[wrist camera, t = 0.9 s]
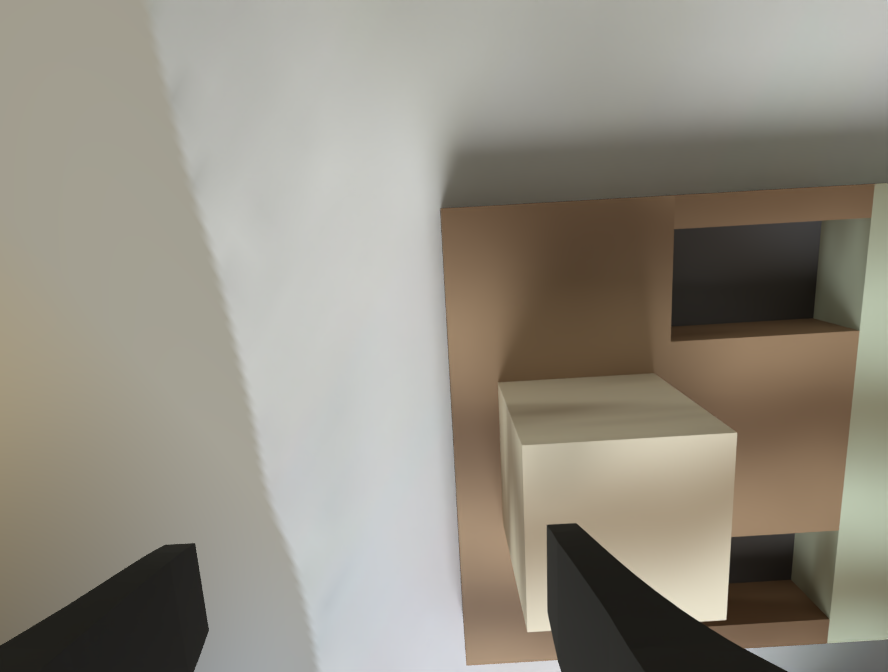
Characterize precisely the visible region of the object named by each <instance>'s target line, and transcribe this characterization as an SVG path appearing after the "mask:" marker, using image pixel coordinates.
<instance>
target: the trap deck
mask: <svg viewBox="0 0 888 672" xmlns="http://www.w3.org/2000/svg"><path fill="white" fill-rule="evenodd" d="M440 214H441V232H442V250H443V268H444V286H445V303H446V321H447V339H448V357H449V375H450V393H451V410H452V428H453V446H454V464H455V482H456V500H457V517H458V535H459V553H460V571H461V589H462V607H463V623H464V637H465V650H466V664H467V665H483V664H499V663H516V662H532V661H548V660H558V659H557V655H556V650H555V646H554V641H553V637H552V632H551V631H539V632H527V628H526V624H525V619H524V615H523V611H522V606H521V602H520V597H519V593H518V588H517V584H516V579H515V575H514V570H513V566H512V561H511V557H510V552H509V548H508V544H507V539H506V535H505V530H504V526H503V506H502V479H501V452H500V425H499V398H498V382H514V381H531V380H548V379H565V378H582V377H599V376H616V375H633V374H650V373H654V374H656V375H657V376H659V377H660V378H661V379H663V380H664V381H666V382H667V383H668V384H670V385H671V386H673V387H674V388H675V389H677V390H678V391H680V392H681V393H682V394H684V395H685V396H687V397H688V398H689V399H691V400H692V401H694V402H695V403H696V404H698V405H699V406H701V407H702V408H703V409H705V410H706V411H708V412H709V413H710V414H712V415H713V416H715V417H716V418H717V419H719V420H720V421H722V422H723V423H724V424H726V425H727V426H729V427H730V428H731V429H733V430H734V431H736V432H737V446H736V464H735V481H734V498H733V515H732V532H731V549H730V566H729V583H728V600H727V617H726V620H719V621H703V622H701V623H702V624H704V625H706V626H707V627H709V628H710V629H712V630H714V631H715V632H717V633H719V634H720V635H722V636H723V637H725V638H727V639H728V640H730V641H732V642H733V643H735V644H737V645H739V646H740V647H742V648H760V647H776V646H792V645H809V644H825V643H841V642H857V641H874V640H888V183H878V184H861V185H843V186H826V187H808V188H791V189H773V190H756V191H738V192H721V193H704V194H686V195H669V196H651V197H634V198H616V199H599V200H581V201H564V202H546V203H529V204H512V205H494V206H477V207H459V208H442V209H440Z"/></svg>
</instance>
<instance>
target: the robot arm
mask: <svg viewBox="0 0 888 672" xmlns="http://www.w3.org/2000/svg"><path fill="white" fill-rule="evenodd" d="M547 613H548V617H549V622H550V627H551V632H552V637H553V641H554V646H555V650H556V655H557V659H558V663H559V666H560V669H561V672H787V671H785V670H784V669H782V668H780V667H778V666H776V665H774V664H772V663H770V662H768V661H766V660H764V659H763V658H761V657H759V656H757V655H755V654H753V653H751V652H749V651H747V650H746V649H744V648H742V647H740V646H739V645H737V644H735V643H733V642H732V641H730V640H728V639H727V638H725V637H723V636H722V635H720V634H719V633H717V632H715V631H714V630H712V629H710V628H709V627H707V626H706V625H704V624H702V623H701V622H699V621H698V620H696V619H695V618H693V617H692V616H690V615H689V614H687V613H686V612H684V611H683V610H681V609H680V608H678V607H677V606H676V605H674V604H673V603H672V602H670V601H669V600H668V599H666V598H665V597H663V596H662V595H661V594H659V593H658V592H657V591H655V590H654V589H653V588H651V587H650V586H649V585H648V584H646V583H645V582H644V581H642V580H641V579H640V578H639V577H637V576H636V575H635V574H634V573H633V572H631V571H630V570H629V569H628V568H627V567H625V566H624V565H623V564H622V563H621V562H620V561H618V560H617V559H616V558H615V557H614V556H613V555H611V554H610V553H609V552H608V551H607V550H606V549H605V548H604V547H602V546H601V545H600V544H599V543H598V542H597V541H596V540H595V539H594V538H592V537H591V536H590V535H589V534H588V533H587V532H586V531H585V530H584V529H582V528H581V527H580V526H579V525H578V524H577V523H568V524H549V525H547ZM208 631H209V628H208V622H207V616H206V609H205V603H204V597H203V591H202V584H201V578H200V572H199V565H198V559H197V553H196V547H195V543H192V544H174V545H164V546H162V547H160V548H158V549H156V550H155V551H153V552H151V553H150V554H148V555H146V556H144V557H143V558H141V559H140V560H138V561H136V562H135V563H133V564H131V565H130V566H128V567H127V568H125V569H124V570H122V571H120V572H119V573H117V574H116V575H114V576H113V577H111V578H110V579H108V580H107V581H105V582H104V583H102V584H100V585H99V586H97V587H96V588H94V589H93V590H91V591H89V592H88V593H86V594H85V595H83V596H81V597H80V598H78V599H77V600H76V601H74V602H72V603H71V604H69V605H68V606H66V607H64V608H62V609H61V610H59V611H58V612H56V613H54V614H52V615H51V616H49V617H48V618H46V619H45V620H42V621H41V622H39V623H38V624H36V625H34V626H33V627H31V628H29V629H28V630H26V631H24V632H23V633H21V634H19V635H18V636H16V637H14V638H13V639H11V640H9V641H8V642H6V643H4V644H2V645H0V672H194V670H195V667H196V664H197V662H198V659H199V657H200V654H201V651H202V648H203V645H204V643H205V639H206V637H207V634H208Z"/></svg>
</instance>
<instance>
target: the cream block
mask: <svg viewBox="0 0 888 672" xmlns="http://www.w3.org/2000/svg"><path fill="white" fill-rule="evenodd" d="M498 398H499V425H500V452H501V479H502V506H503V526H504V530H505V535H506V539H507V544H508V548H509V552H510V557H511V561H512V566H513V570H514V575H515V579H516V584H517V588H518V593H519V597H520V602H521V606H522V611H523V615H524V619H525V624H526V628H527V632H539V631H551V627H550V622H549V617H548V613H547V525H549V524H568V523H577V524H578V525H579V526H580V527H581V528H582V529H584V530H585V531H586V532H587V533H588V534H589V535H590V536H591V537H592V538H594V539H595V540H596V541H597V542H598V543H599V544H600V545H601V546H602V547H604V548H605V549H606V550H607V551H608V552H609V553H610V554H611V555H613V556H614V557H615V558H616V559H617V560H618V561H620V562H621V563H622V564H623V565H624V566H625V567H627V568H628V569H629V570H630V571H631V572H633V573H634V574H635V575H636V576H637V577H639V578H640V579H641V580H642V581H644V582H645V583H646V584H648V585H649V586H650V587H651V588H653V589H654V590H655V591H657V592H658V593H659V594H661V595H662V596H663V597H665V598H666V599H668V600H669V601H670V602H672V603H673V604H674V605H676V606H677V607H678V608H680V609H681V610H683V611H684V612H686V613H687V614H689V615H690V616H692V617H693V618H695V619H696V620H698V621H699V622H703V621H719V620H726V617H727V600H728V583H729V566H730V549H731V532H732V515H733V498H734V481H735V464H736V446H737V432H736V431H734V430H733V429H731V428H730V427H729V426H727V425H726V424H724V423H723V422H722V421H720V420H719V419H717V418H716V417H715V416H713V415H712V414H710V413H709V412H708V411H706V410H705V409H703V408H702V407H701V406H699V405H698V404H696V403H695V402H694V401H692V400H691V399H689V398H688V397H687V396H685V395H684V394H682V393H681V392H680V391H678V390H677V389H675V388H674V387H673V386H671V385H670V384H668V383H667V382H666V381H664V380H663V379H661V378H660V377H659V376H657V375H656V374H654V373H650V374H633V375H616V376H599V377H582V378H565V379H548V380H531V381H514V382H498Z"/></svg>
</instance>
